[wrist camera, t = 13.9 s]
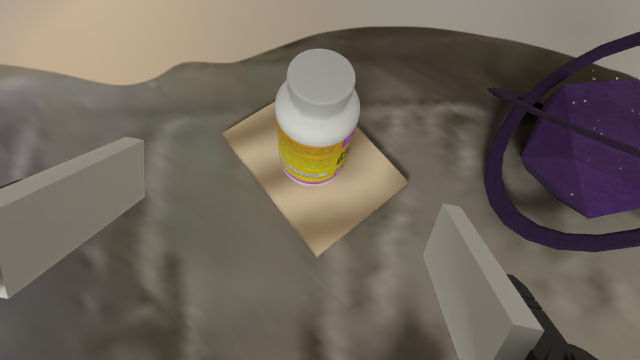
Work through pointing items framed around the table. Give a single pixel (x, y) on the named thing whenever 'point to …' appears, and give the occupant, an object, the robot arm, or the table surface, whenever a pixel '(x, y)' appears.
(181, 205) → the table surface
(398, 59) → the table surface
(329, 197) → the pad
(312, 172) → the supplement bottle
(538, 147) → the decorative bottle
